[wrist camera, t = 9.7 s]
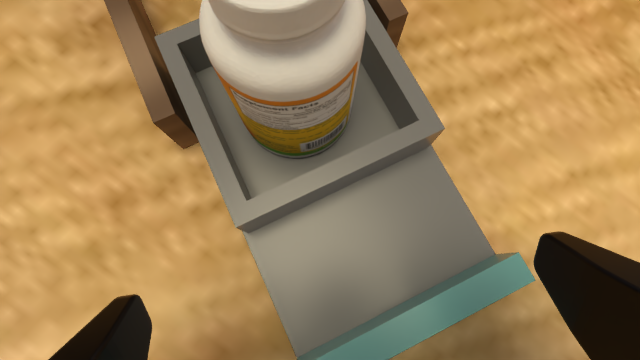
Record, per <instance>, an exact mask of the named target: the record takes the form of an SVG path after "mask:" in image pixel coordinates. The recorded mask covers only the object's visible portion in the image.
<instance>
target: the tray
mask: <svg viewBox="0 0 640 360" xmlns="http://www.w3.org/2000/svg"><path fill="white" fill-rule="evenodd" d="M363 2H364V6H365V13H366V28H365V37H364V43H363V49H362V54H361V59H360V65H359V70H358V76H357V81H356V87H355V92H354V98H353V103H352V109H351V114H350V118H349V121H348V124H347V126H346V128H345V130H344V132H343V133H342V135H341V136H340V137H339V139H338V140H337V141H336V142H335V143H334V144H333V145H331V146H330V147H329V148H327V149H326V150H324V151H322V152H320V153H318V154H315V155H312V156H308V157H302V158H290V157H284V156H280V155H277V154H274V153H272V152H270V151H268V150H267V149H265V148H263V147H262V146H261V145H260V144H258V143H257V142H256V141H255V140H254V138H253V137H252V136H251V134H250V133H249V131H248V130H247V128H246V127H245V125H244V123H243V121H242V119H241V117H240V116H239V114H238V112H237V110H236V108H235V106H234V104H233V102H232V101H231V99H230V97H229V95H228V93H227V92H226V90H225V88H224V86H223V84H222V82H221V80H220V79H219V77H218V75H217V73H216V71H215V69H214V68H213V66H212V64H211V62H210V60H209V58H208V55H207V53H206V51H205V49H204V46H203V43H202V39H201V35H200V26H199V19H197V20H194V21H192V22H189V23H187V24H185V25H182V26H180V27H177V28H175V29H172V30H170V31H167V32H165V33H162V34H160V35H157V36H155V37H154V38H155V40H156V42H157V45H158V47H159V49H160V52H161V54H162V56H163V59H164V61H165V63H166V66H167V68H168V70H169V73H170V75H171V77H172V80H173V82H174V84H175V87H176V89H177V91H178V94H179V96H180V98H181V101H182V103H183V105H184V108H185V110H186V112H187V115H188V117H189V119H190V122H191V124H192V126H193V129H194V131H195V134H196V136H197V138H198V141H199V143H200V145H201V148H202V150H203V152H204V155H205V157H206V159H207V162H208V164H209V166H210V169H211V171H212V173H213V176H214V178H215V180H216V183H217V185H218V187H219V190H220V192H221V194H222V197H223V199H224V201H225V204H226V206H227V208H228V211H229V213H230V215H231V218H232V220H233V222H234V225H235V227H236V228H238V229H240V230H242V232H243V234H244V236H245V239H246V241H247V243H248V246H249V248H250V250H251V252H252V255H253V257H254V259H255V262H256V264H257V266H258V269H259V271H260V273H261V276H262V278H263V280H264V283H265V285H266V287H267V290H268V292H269V294H270V297H271V299H272V301H273V303H274V306H275V308H276V310H277V313H278V315H279V317H280V320H281V322H282V324H283V327H284V329H285V331H286V334H287V336H288V338H289V341H290V343H291V345H292V348H293V350H294V352H295V355H296V357H297V360H388V359H390V358H392V357H394V356H396V355H397V354H399V353H401V352H403V351H405V350H407V349H409V348H410V347H412V346H414V345H416V344H418V343H420V342H422V341H423V340H425V339H427V338H429V337H431V336H433V335H435V334H436V333H438V332H440V331H442V330H444V329H446V328H448V327H449V326H451V325H453V324H455V323H457V322H459V321H461V320H462V319H464V318H466V317H468V316H470V315H472V314H474V313H475V312H477V311H479V310H481V309H483V308H485V307H487V306H489V305H490V304H492V303H494V302H496V301H498V300H500V299H502V298H503V297H505V296H507V295H509V294H511V293H513V292H515V291H516V290H518V289H520V288H522V287H524V286H526V285H528V284H529V283H531V282H533V281H535V279H534V277H533V275H532V274H531V272H530V270H529V269H528V267H527V265H526V264H525V262H524V260H523V259H522V257H521V255H520V254H519V252H517V253H505V254H495V253H494V251H493V249H492V248H491V246H490V244H489V242H488V241H487V239H486V237H485V236H484V234H483V232H482V231H481V229H480V227H479V225H478V224H477V222H476V220H475V219H474V217H473V215H472V214H471V212H470V210H469V208H468V207H467V205H466V203H465V202H464V200H463V198H462V197H461V195H460V193H459V191H458V190H457V188H456V186H455V185H454V183H453V181H452V180H451V178H450V176H449V174H448V173H447V171H446V169H445V168H444V166H443V164H442V163H441V161H440V159H439V158H438V156H437V154H436V152H435V151H434V149H433V147H432V146H431V144H432V143H433V141H434V140H435V139H436V138H437V137H438V136H439V135H440V134H441V132H442V131H443V130H444V129H445V128H444V126H443V124H442V123H441V121H440V119H439V118H438V116H437V114H436V113H435V111H434V109H433V108H432V106H431V104H430V103H429V101H428V99H427V98H426V96H425V94H424V93H423V91H422V90H421V88H420V86H419V85H418V83H417V81H416V80H415V78H414V76H413V75H412V73H411V71H410V70H409V68H408V66H407V65H406V63H405V61H404V60H403V58H402V57H401V55H400V53H399V52H398V50H397V48H396V47H395V45H394V43H393V42H392V40H391V38H390V37H389V35H388V33H387V32H386V30H385V28H384V27H383V25H382V23H381V22H380V20H379V19H378V17H377V15H376V14H375V12H374V10H373V9H372V7H371V5H370V4H369V2H368V0H363Z"/></svg>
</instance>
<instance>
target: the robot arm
mask: <svg viewBox="0 0 640 360" xmlns="http://www.w3.org/2000/svg"><path fill="white" fill-rule="evenodd" d="M534 268H535V270H536V273H537V274H538V276H539V278H540V280H541V281H542V283H543V285H544V286H545V288H546V290H547V292H548V293H549V295H550V297H551V298H552V300H553V302H554V304H555V305H556V307H557V309H558V311H559V312H560V314H561V316H562V317H563V319H564V321H565V323H566V324H567V326H568V327H569V329H570V331H571V332H572V334H573V335H574V337H575V338H576V340H577V341H578V342H579V344H580V345H581V347H582V348H583V349H584V351H585V352H586V354H587V355H588V357H589V358H590V359H591V360H640V263H639V262H637V261H634V260H632V259H629V258H627V257H624V256H622V255H619V254H617V253H614V252H612V251H609V250H607V249H604V248H602V247H599V246H597V245H594V244H592V243H589V242H587V241H584V240H582V239H580V238H577V237H575V236H572V235H570V234H567V233H565V232H551V233H545V234H543V235H542V236H541V237H540V239H539V243H538V246H537V250H536V254H535V257H534ZM151 333H152V323H151V319H150V317H149V314H148V312H147V310H146V308H145V306H144V304H143V301H142V299H141V298H140V296H138V295H135V294H133V295H126V296H120V297H117V298H116V299H114V300H113V301H112V302H111V303H110V304H109V305H108V306H106V307H105V308H104V309H103V310H102V311H101V312H100V313H99V314H98V315H97V316H96V317H94V318H93V319H92V320H91V321H90V322H89V323H88V324H87V325H86V326H85V327H83V328H82V329H81V330H80V331H79V332H78V333H77V334H76V335H75V336H74V337H73V338H71V339H70V340H69V341H68V342H67V343H66V344H65V345H64V346H63V347H62V348H61V349H59V350H58V351H57V352H56V353H55V354H54V355H53V356H52V357H51V358H50V359H49V360H147V358H148V352H149V345H150V339H151Z"/></svg>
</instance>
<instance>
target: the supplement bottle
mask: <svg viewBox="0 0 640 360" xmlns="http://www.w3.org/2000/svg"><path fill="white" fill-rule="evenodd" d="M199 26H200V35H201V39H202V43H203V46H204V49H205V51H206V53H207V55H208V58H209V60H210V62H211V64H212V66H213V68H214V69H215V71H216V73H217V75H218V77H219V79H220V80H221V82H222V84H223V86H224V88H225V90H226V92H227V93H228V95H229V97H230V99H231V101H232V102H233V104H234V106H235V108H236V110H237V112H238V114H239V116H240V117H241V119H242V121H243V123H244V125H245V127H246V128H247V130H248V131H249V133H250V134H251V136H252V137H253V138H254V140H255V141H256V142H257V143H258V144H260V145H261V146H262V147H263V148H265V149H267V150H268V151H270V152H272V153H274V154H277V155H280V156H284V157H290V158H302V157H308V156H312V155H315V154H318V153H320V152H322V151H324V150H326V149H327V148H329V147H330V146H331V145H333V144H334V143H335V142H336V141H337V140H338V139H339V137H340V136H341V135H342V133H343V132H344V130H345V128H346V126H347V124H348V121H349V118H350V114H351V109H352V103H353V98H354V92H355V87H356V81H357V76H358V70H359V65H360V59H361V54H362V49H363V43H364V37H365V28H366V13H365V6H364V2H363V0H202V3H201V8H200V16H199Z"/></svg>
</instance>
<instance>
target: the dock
mask: <svg viewBox="0 0 640 360" xmlns="http://www.w3.org/2000/svg"><path fill="white" fill-rule="evenodd" d="M104 1H105V4H106V6H107V9H108V11H109V14H110V16H111V19H112V21H113V24H114V26H115V29H116V31H117V34H118V36H119V39H120V41H121V44H122V46H123V49H124V51H125V54H126V56H127V59H128V61H129V64H130V66H131V69H132V71H133V74H134V76H135V79H136V81H137V84H138V86H139V89H140V91H141V94H142V96H143V99H144V101H145V103H146V106H147V108H148V111H149V113H150V116H151V118H152V121H153V123H154V124H155V125H156V126H158V127H159V128H160V129H161V130H162V131H163V132H164V133H166V134H167V135H168V136H169V137H170V138H171V139H172V140H174V141H175V142H176V143H177V144H178V145H179V146H181V147H182V148H183V149H184V148H186V147H188V146H191V145H193V144H195V143H198V142H199V141H198V138H197V136H196V134H195V131H194V129H193V126H192V124H191V122H190V119H189V117H188V115H187V112H186V110H185V108H184V105H183V103H182V101H181V98H180V96H179V94H178V91H177V89H176V87H175V84H174V82H173V80H172V77H171V75H170V73H169V70H168V68H167V66H166V63H165V61H164V59H163V56H162V54H161V52H160V49H159V47H158V45H157V42H156V40H155V38H154V37H155V36H156V35H155V33H154V30H153V28H152V26H151V23H150V21H149V19H148V16H147V14H146V12H145V9H144V7H143V5H142V2H141V0H104ZM368 2H369V4H370V5H371V7H372V9H373V10H374V12H375V14H376V15H377V17H378V19H379V20H380V22H381V23H382V25H383V27H384V28H385V30H386V32H387V33H388V35H389V37H390V38H391V40H392V42H393V43H394V45H395V47H397V45H398V42H399V39H400V36H401V33H402V30H403V27H404V24H405V21H406V18H407V15H408V11H407V10H406V8H405V7H404V5H403V4H402V2H401V0H368Z"/></svg>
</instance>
